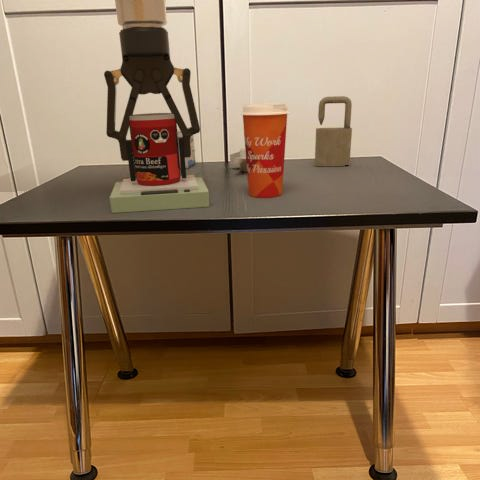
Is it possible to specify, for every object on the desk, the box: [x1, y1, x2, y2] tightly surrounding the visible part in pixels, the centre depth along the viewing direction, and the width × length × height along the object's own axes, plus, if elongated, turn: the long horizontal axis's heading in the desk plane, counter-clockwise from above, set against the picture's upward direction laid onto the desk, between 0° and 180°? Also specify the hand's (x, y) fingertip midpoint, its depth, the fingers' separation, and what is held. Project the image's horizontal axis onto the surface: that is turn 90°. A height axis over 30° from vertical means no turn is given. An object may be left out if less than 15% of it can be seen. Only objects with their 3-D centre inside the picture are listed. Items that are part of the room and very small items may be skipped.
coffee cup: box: [240, 103, 291, 199], centre depth 84 cm, size 8×8×15 cm
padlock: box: [314, 95, 353, 167], centre depth 112 cm, size 4×8×15 cm, turn 82°
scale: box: [109, 174, 210, 214], centre depth 85 cm, size 16×14×3 cm
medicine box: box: [177, 128, 196, 170], centre depth 119 cm, size 8×4×9 cm, turn 171°
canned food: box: [129, 112, 181, 186], centre depth 82 cm, size 8×8×11 cm
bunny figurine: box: [229, 147, 247, 173], centre depth 111 cm, size 10×5×15 cm
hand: (158, 178), depth 84 cm, fingers open, 8 cm apart
